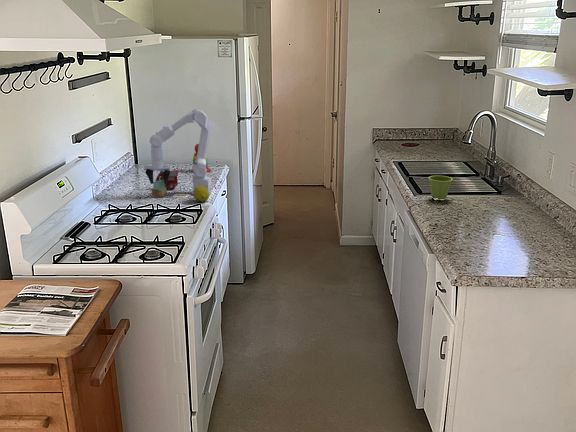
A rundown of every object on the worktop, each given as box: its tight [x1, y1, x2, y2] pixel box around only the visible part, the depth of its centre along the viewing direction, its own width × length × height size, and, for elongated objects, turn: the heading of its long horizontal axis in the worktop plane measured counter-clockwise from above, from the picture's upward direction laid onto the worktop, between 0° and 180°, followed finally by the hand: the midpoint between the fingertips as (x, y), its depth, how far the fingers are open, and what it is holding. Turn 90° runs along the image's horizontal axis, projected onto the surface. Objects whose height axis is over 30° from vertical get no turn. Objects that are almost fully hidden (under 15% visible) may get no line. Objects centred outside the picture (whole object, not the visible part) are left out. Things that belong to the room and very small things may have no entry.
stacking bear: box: [192, 143, 213, 173], centre depth 352 cm, size 11×10×18 cm
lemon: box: [193, 186, 210, 203], centre depth 287 cm, size 11×8×8 cm
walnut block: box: [151, 187, 168, 199], centre depth 298 cm, size 6×6×4 cm
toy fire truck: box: [154, 170, 179, 191], centre depth 312 cm, size 7×12×10 cm, turn 91°
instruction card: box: [171, 193, 191, 199], centre depth 298 cm, size 8×6×1 cm
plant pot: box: [428, 175, 453, 199], centre depth 289 cm, size 12×12×11 cm
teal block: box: [152, 180, 165, 190], centre depth 297 cm, size 4×4×4 cm
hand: (159, 183), depth 296 cm, fingers open, 7 cm apart
